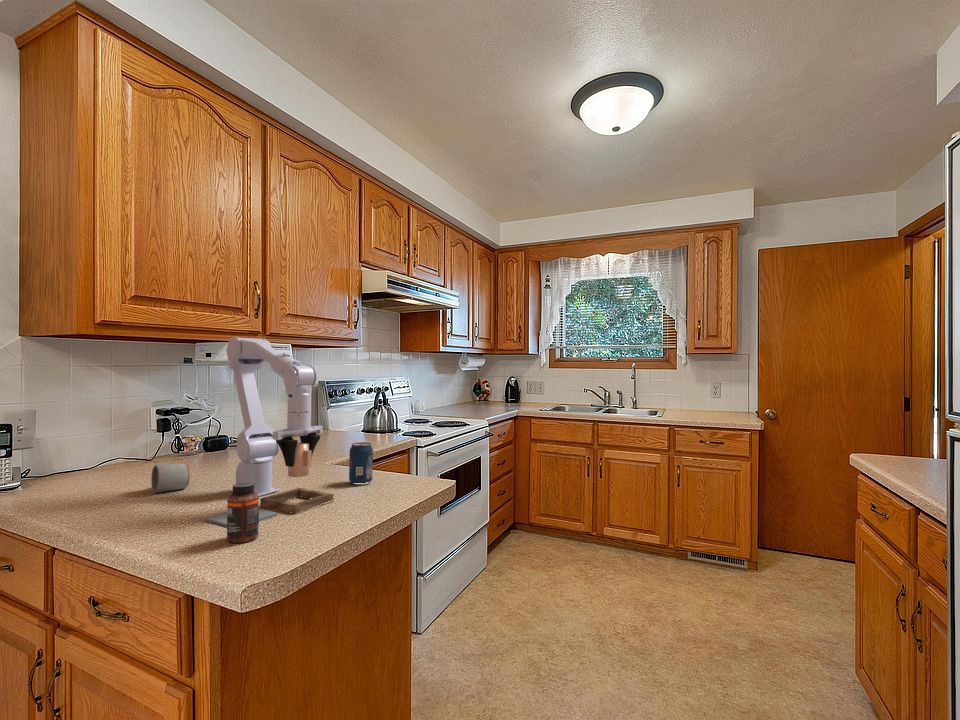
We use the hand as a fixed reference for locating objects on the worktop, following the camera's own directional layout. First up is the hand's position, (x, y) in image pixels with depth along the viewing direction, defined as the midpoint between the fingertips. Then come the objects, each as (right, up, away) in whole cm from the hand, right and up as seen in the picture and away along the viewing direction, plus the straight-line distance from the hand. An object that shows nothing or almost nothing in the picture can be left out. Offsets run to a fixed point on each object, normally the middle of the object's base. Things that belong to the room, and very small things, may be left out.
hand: (298, 464), depth 125 cm
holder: (0, -10, 0) cm, 10 cm away
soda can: (+11, -11, +23) cm, 27 cm away
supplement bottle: (-2, -10, -25) cm, 27 cm away
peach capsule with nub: (0, -3, 0) cm, 3 cm away
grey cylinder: (-42, -10, +12) cm, 44 cm away
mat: (-9, -10, -12) cm, 18 cm away
